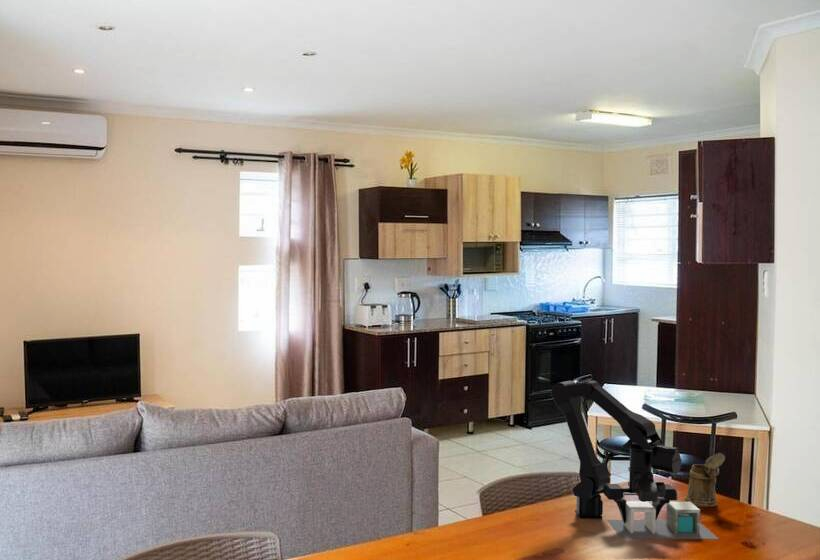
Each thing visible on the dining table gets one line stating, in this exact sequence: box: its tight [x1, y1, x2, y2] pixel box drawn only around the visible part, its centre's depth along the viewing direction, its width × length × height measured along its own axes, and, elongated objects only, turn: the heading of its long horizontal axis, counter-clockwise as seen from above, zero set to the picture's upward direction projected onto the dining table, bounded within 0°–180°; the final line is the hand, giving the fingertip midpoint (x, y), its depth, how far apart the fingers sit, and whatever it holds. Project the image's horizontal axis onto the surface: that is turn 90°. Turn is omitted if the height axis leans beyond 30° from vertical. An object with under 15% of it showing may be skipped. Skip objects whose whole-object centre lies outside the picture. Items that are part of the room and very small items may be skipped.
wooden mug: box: [684, 451, 726, 508], centre depth 228 cm, size 9×14×18 cm, turn 10°
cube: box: [678, 512, 693, 532], centre depth 207 cm, size 4×4×4 cm
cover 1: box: [623, 500, 656, 533], centre depth 206 cm, size 7×7×6 cm
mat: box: [606, 519, 719, 540], centre depth 207 cm, size 26×14×1 cm, turn 91°
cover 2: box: [665, 501, 701, 534], centre depth 207 cm, size 7×7×6 cm
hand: (639, 523), depth 207 cm, fingers open, 8 cm apart
